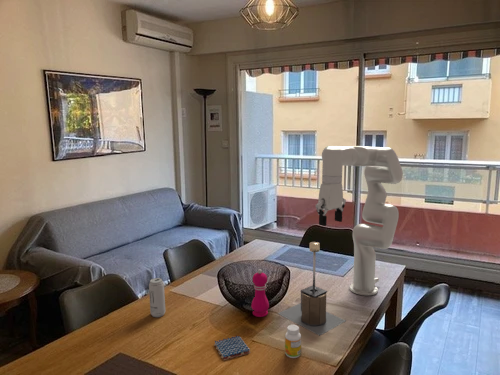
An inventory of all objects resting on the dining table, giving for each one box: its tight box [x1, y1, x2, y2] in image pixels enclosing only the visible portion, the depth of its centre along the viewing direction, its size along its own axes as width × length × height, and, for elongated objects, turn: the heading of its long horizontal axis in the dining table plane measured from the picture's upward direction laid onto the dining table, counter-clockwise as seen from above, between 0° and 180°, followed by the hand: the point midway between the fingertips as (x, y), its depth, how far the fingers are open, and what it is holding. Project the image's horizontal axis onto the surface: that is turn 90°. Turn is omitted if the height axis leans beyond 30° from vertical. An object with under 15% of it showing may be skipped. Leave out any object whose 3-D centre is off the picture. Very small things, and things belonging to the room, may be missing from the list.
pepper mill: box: [250, 268, 270, 318], centre depth 157 cm, size 7×7×20 cm
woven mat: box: [213, 335, 251, 361], centre depth 136 cm, size 10×11×2 cm
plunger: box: [305, 241, 322, 297], centre depth 149 cm, size 7×7×20 cm
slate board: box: [277, 302, 347, 336], centre depth 155 cm, size 16×22×1 cm
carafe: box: [300, 284, 328, 326], centre depth 152 cm, size 10×11×12 cm
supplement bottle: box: [284, 324, 302, 359], centre depth 132 cm, size 5×5×10 cm
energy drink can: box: [148, 277, 166, 318], centre depth 160 cm, size 6×6×15 cm
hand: (330, 223), depth 152 cm, fingers open, 9 cm apart
